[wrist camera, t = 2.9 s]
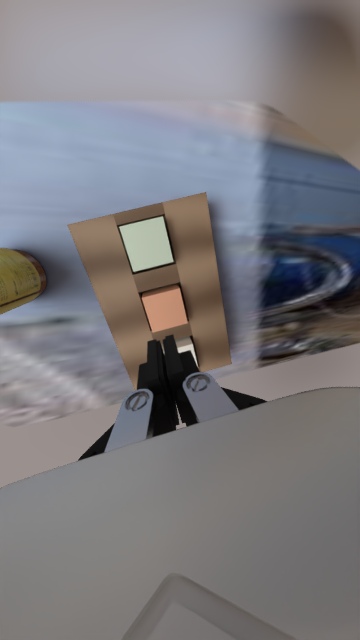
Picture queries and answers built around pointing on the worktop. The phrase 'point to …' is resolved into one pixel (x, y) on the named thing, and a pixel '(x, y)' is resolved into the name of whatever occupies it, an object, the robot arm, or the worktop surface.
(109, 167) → the worktop surface
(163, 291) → the terracotta button
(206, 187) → the worktop surface
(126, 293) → the button panel
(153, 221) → the sage button
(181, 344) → the cream button
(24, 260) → the sauce bottle
